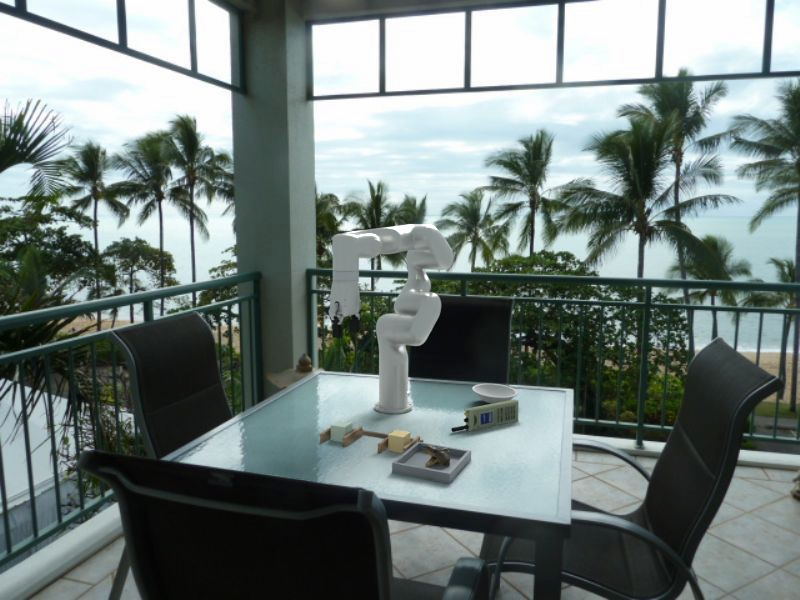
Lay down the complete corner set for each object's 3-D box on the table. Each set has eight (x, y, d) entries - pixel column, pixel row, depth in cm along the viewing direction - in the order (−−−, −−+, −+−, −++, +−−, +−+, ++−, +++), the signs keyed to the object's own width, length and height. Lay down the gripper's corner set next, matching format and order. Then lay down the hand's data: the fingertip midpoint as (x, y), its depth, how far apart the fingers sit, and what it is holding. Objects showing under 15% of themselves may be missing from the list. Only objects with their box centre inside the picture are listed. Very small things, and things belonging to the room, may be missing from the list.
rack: (341, 429, 176) (341, 420, 176) (423, 442, 165) (423, 434, 165) (320, 442, 165) (319, 433, 165) (405, 457, 155) (405, 448, 154)
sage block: (338, 435, 171) (338, 420, 171) (352, 437, 169) (352, 422, 169) (330, 440, 167) (330, 425, 167) (344, 442, 165) (344, 427, 165)
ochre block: (395, 445, 164) (395, 429, 163) (410, 447, 162) (410, 432, 161) (388, 450, 160) (388, 434, 159) (403, 453, 158) (403, 437, 157)
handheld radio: (520, 421, 185) (455, 436, 172) (512, 419, 187) (449, 433, 174) (520, 400, 184) (455, 413, 171) (512, 398, 187) (448, 410, 174)
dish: (526, 409, 196) (527, 394, 196) (488, 414, 191) (489, 399, 190) (499, 395, 212) (499, 381, 212) (463, 399, 207) (463, 385, 207)
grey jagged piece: (429, 475, 144) (431, 451, 142) (413, 463, 149) (415, 439, 147) (454, 465, 149) (456, 442, 147) (438, 453, 154) (439, 430, 152)
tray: (417, 450, 160) (417, 441, 159) (470, 459, 153) (471, 450, 153) (392, 472, 145) (392, 462, 145) (449, 484, 139) (449, 473, 139)
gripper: (349, 274, 180) (349, 329, 183) (318, 278, 165) (319, 339, 167) (371, 275, 177) (371, 331, 179) (341, 279, 162) (342, 341, 164)
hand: (346, 335), depth 173 cm, fingers open, 9 cm apart
